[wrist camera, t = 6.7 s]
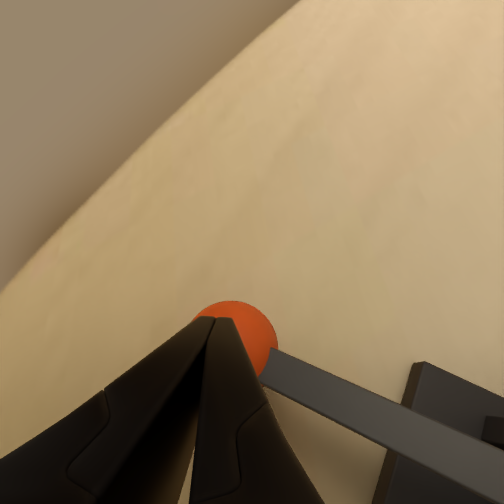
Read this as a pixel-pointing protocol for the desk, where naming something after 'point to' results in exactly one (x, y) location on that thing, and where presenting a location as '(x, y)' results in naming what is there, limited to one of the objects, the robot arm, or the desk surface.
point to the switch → (367, 409)
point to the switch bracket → (451, 414)
